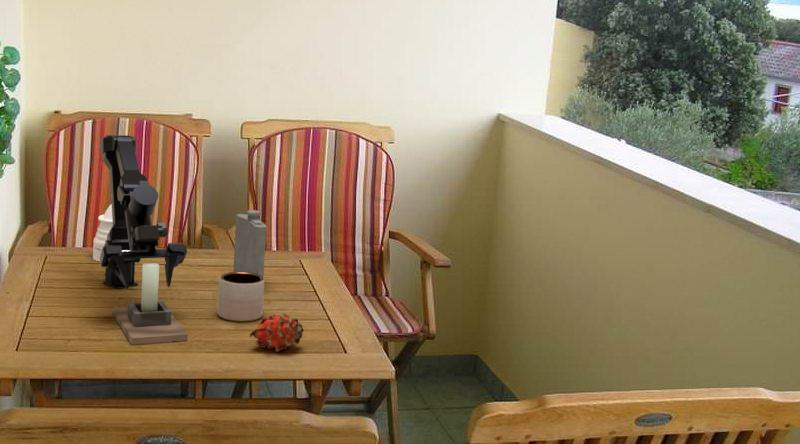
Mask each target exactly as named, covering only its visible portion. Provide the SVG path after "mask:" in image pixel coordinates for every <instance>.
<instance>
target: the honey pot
mask: <svg viewBox="0 0 800 444" xmlns="http://www.w3.org/2000/svg"><path fill="white" fill-rule="evenodd" d="M97 220H98V221H99V222H100V223H99V225H98V227H97V231H96V232H95V237H94V238H93V241H92V242H93V247H92V259H93V261H95V260H96V261H95V262H97V261H100V256H101V252H102V249H103V247H104V245H105V241H106V240H107V235H108V233H109V231H110V229H111V228H112V226H113V220H112V203H111V204H109V206H108V207H107V208H106V211H105V212H104V214H101V215H99V216H98V218H97Z"/></svg>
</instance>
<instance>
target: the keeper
mask: <svg viewBox="0 0 800 444" xmlns="http://www.w3.org/2000/svg"><path fill="white" fill-rule="evenodd" d="M112 315H113V316H114V318H115V320H116V322H117V323H118V324H119V327H120V328H121V330H122V331H123V334H124V335H125V336H126V338H127V340H128V341H129V343H130V344H131V345H132V346H137V345H148V344H151V345H152V344H161V343H173V342H172V341H177V342H185V341H186V340H187V341H188V332H187V331H186V330H185V329H184V328H183V326H182V325H181V323H179V321H178V319H176V317H175V316H174V315H173V313H172V311H171V309H170V308H169V307H168V305H167V304H166V303H165V301H158V308H157V311H151V312H141V302H131V303H130V302H129V303H127V306H112ZM182 340H183V341H182ZM184 340H185V341H184ZM187 341H186V342H187Z"/></svg>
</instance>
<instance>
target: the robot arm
mask: <svg viewBox="0 0 800 444" xmlns="http://www.w3.org/2000/svg"><path fill="white" fill-rule="evenodd" d="M99 152H100V154H102V155H101V156H102V162H103V163H104V165H106V167H107V168H108V170H109V178H110V179H109V183H110V197H111V204H112V220H113V226H112V228H111V229H110V231H109V233H108V235H107V240H106V241H105V245H104V247H103V249H102V252H101V256H100V262H99V263H100V266H101V267H102V268H105V279H104V280H103V281H102V283H103V284H105V285H106V286H107V285H108V286H110V287H113V288H115V289H123V288H126V290H129V289H130V287H133V286H138V284H139V282H137V281H135V266H136V263H140V262H141V260H142V259H159V258H161V259H162V258H164V262H165V265H164V270H165V273H164V274H165V282H166V285H167V288H170V286H171V283H172V277H173V275H174V274H173V272H174V268H176V267H178V266H179V265H181V264H183V263H184V260H185V258H186V257H187V253H188V250H187V245H186V244H185V243H184V242H169V243H168V244H167V245H166V248H160V249H158V248H157V247H158V246H159V240H160V238H166V237H167V236H168V227H167V223H166V222H157V224H156V225H153V223H152V222H153V221H152V215H153V214H154V212H155V208H156V206H157V201H158V199H159V192H158V191H157V189H156V188H155V187H154V186H152V185H150V183H149V180H148V177H146V175H144V174H142V172H141V171H140V167H139V161H138V159H137V154H136V153H137V138H136V137H134V136H132V135H125V134H124V135H121V134H120V135H119V134H104V137H102V138H100V140H99ZM156 248H157V249H156Z"/></svg>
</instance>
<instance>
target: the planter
mask: <svg viewBox="0 0 800 444" xmlns="http://www.w3.org/2000/svg"><path fill="white" fill-rule="evenodd" d="M265 279H266V278H265V277H263V276H261V275H259V274H256V273H251V272H233V271H230V272H224V273H222V274H220V275H219V279H218V280H219V281H218V294H217V297H218V298H217V311H216V312H217V315H218V316H219V317H220V318H221V319H223V320H225V321H226V320H227V321H230V322H234V323H235V322H236V323H237V322H238V323H247V322H248V323H250V322H254V321H257V320H259V319H261V317H263V314H264V301H265V300H264V298H265V296H264V295H265Z"/></svg>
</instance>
